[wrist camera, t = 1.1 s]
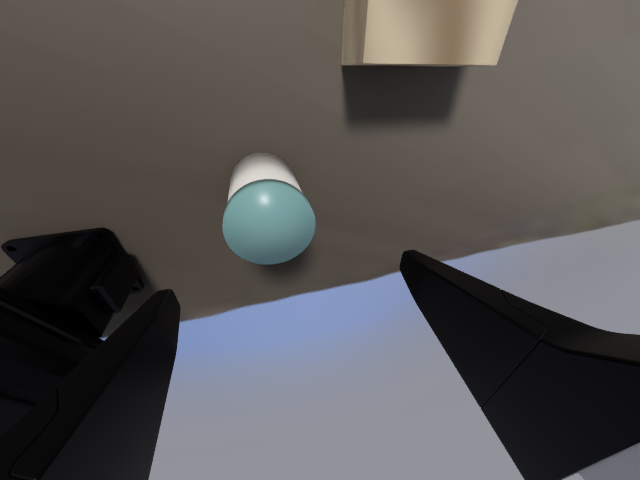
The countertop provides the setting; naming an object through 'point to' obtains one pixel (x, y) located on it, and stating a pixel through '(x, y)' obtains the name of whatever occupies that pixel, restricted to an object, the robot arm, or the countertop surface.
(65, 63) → the countertop surface
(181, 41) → the countertop surface
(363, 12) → the beech block
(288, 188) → the white jar
